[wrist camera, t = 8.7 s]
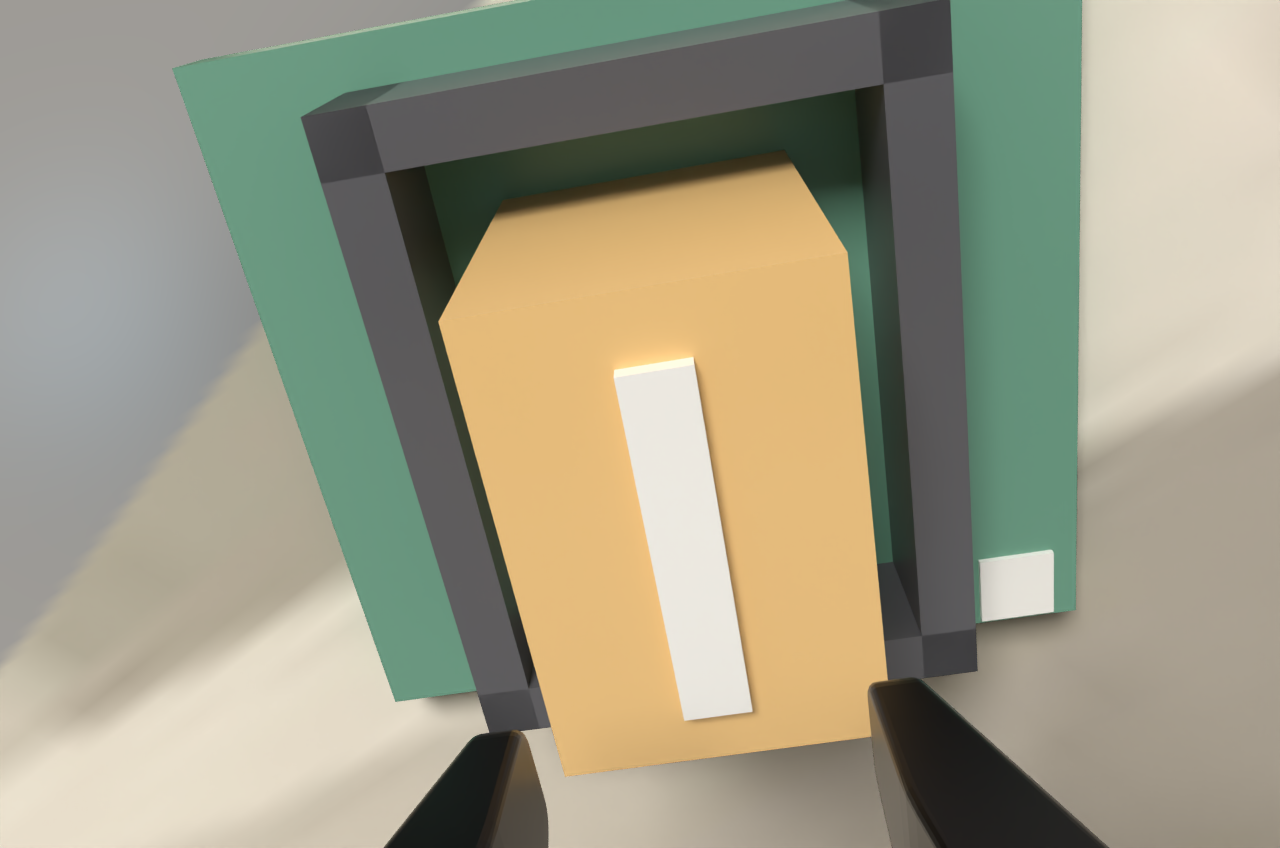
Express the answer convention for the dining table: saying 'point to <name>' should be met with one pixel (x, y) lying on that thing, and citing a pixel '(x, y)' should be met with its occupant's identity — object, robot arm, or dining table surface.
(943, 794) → the robot arm
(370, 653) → the dining table surface
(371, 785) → the dining table surface
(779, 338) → the plug
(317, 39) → the socket board
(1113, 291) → the dining table surface
